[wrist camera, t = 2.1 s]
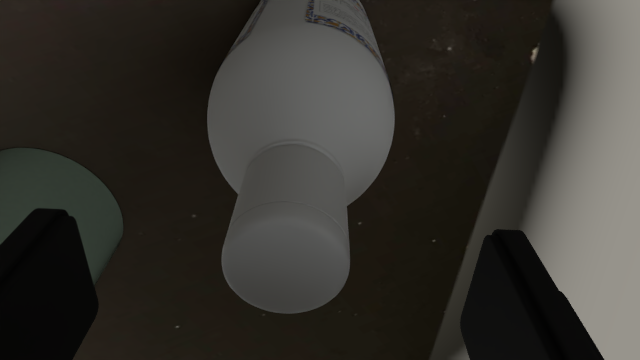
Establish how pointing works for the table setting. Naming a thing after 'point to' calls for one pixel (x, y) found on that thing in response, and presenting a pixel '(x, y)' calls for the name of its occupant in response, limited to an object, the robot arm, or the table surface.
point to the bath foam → (298, 146)
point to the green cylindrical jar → (60, 200)
